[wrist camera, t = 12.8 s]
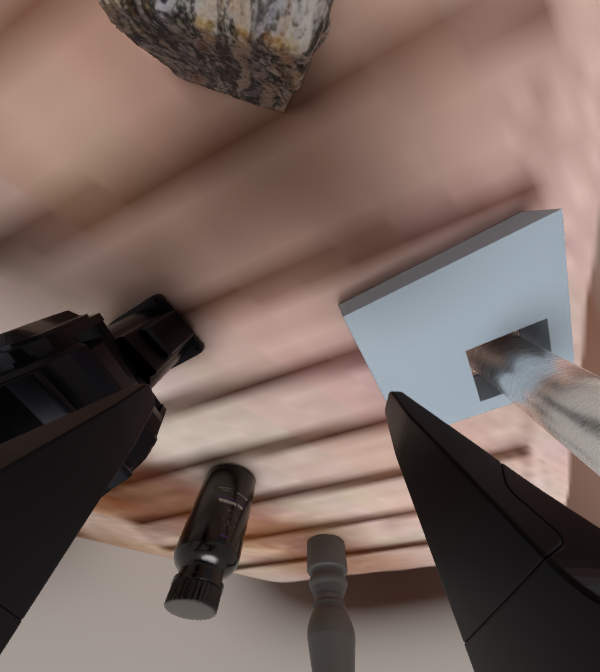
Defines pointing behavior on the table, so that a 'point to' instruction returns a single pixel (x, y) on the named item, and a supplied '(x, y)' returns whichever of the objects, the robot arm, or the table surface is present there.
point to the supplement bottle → (211, 543)
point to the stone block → (229, 42)
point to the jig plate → (466, 313)
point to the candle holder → (329, 607)
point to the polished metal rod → (545, 391)
